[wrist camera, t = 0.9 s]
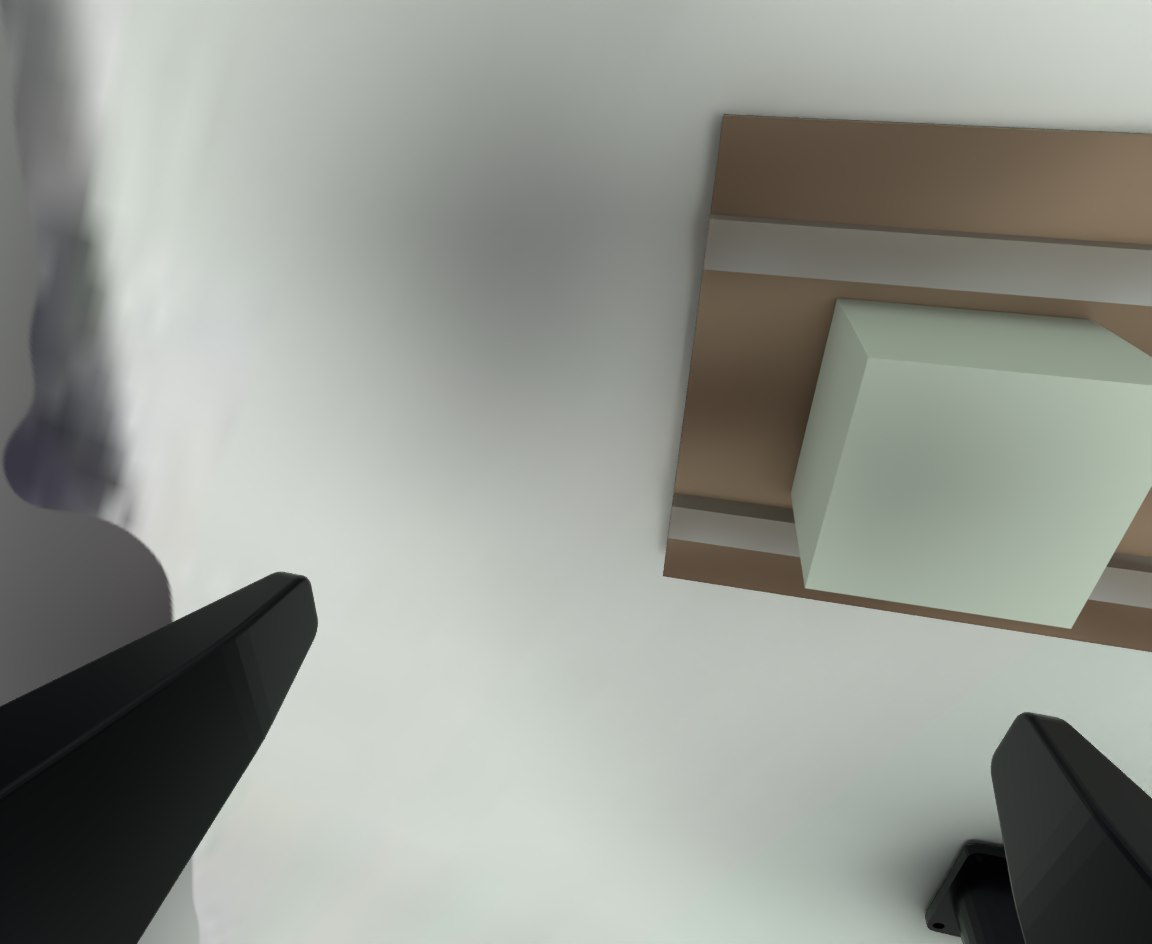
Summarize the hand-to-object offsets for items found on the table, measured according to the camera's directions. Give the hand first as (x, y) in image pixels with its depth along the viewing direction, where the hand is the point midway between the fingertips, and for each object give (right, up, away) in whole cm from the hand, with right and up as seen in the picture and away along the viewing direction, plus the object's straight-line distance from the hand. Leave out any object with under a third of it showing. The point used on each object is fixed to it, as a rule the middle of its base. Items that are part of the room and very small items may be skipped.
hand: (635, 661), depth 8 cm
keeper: (+9, +4, +10) cm, 14 cm away
